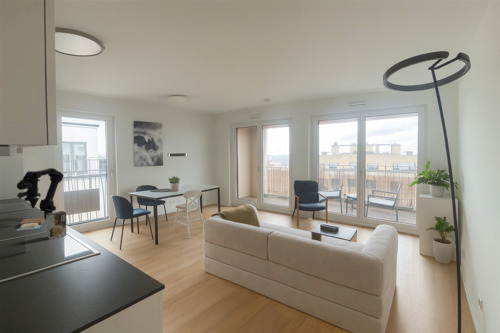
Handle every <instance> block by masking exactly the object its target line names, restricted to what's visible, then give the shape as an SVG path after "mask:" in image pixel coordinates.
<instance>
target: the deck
mask: <svg viewBox="0 0 500 333" xmlns="http://www.w3.org/2000/svg"><path fill="white" fill-rule="evenodd" d="M45 222H46V219H45V217H44V216H43V217H33V218H32V217H31V218H23V220H21V221H20V223H19V224H18V225H19V227H21V226H22V225H23V224H30V223H38V225H41V226H42V225H43V224H44V223H45ZM19 227H18V228H19Z"/></svg>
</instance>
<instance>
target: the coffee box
mask: <svg viewBox="0 0 500 333" xmlns="http://www.w3.org/2000/svg"><path fill="white" fill-rule="evenodd" d="M45 222H46V238H47V237H48V238H49V239H48V238H47V239H48V240H53V239H52V238H55V239H57V238H56V237H59V238H61V237H60V236H63V237H66V236H65V235H68V234H67V212H66V211H64V210H60V211H53V212H52V213H46V219H45Z"/></svg>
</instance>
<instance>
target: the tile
mask: <svg viewBox="0 0 500 333" xmlns="http://www.w3.org/2000/svg"><path fill="white" fill-rule="evenodd" d="M37 226H38V223H30V224H23V225H22V226H21V229H29V228H36V227H37Z"/></svg>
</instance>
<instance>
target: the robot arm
mask: <svg viewBox="0 0 500 333" xmlns="http://www.w3.org/2000/svg"><path fill="white" fill-rule="evenodd" d="M46 175H48V177H49V180H50V185H49V187H48V189H47V192H46V195H45V198H44V199H41V200H40V197H42V194H41V193H40V192H39V182H41V181H40V178H41V177H43V176H46ZM63 179H64V174H63V173H62V172H61V171H59V170H57V169H56V168H53V167H52V168H51V167H50V168H49V167H48V168H45V169H41V170H35V171H34V170H31V171H30V170H29V171H26V173H24V176H23V178H22V179H20V180H19V182H17V184H16V188H17V190H20V191H21V190H22V191H23V190H26V191H23V192H22V191H21V192H18V193H17V194H16V195H17V196H16V197H17V198H18V199H21V198H24V202H29V203H30V206H31V209H34V208H35V206H36V205H37V203H38V202H39V200H40V202H39V206H38V207H39V210H40V212H43V217H45V220H46V213H52V212H56V210H57V207H56V206H55V203H54V198H55V194H56V192H57V189H58V185H59V183H61V182H62V181H63Z"/></svg>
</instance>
